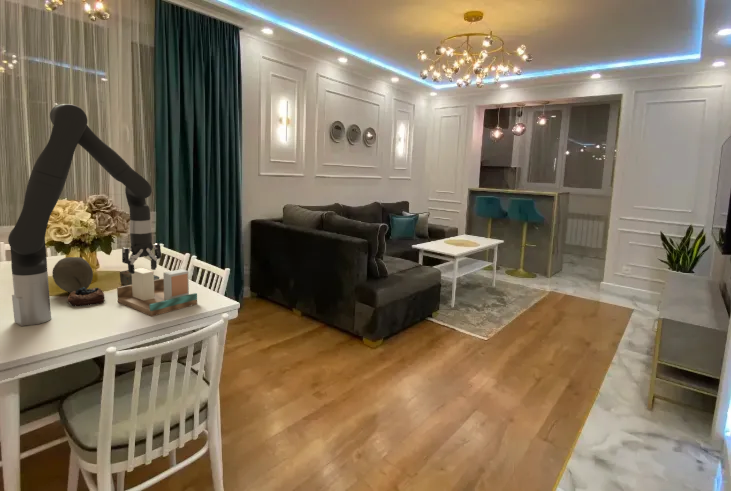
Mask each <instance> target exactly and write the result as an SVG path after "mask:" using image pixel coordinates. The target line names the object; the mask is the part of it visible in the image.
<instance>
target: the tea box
mask: <svg viewBox="0 0 731 491" xmlns="http://www.w3.org/2000/svg"><path fill="white" fill-rule="evenodd" d="M134 272H135V273H134V274H132V294H133V297H136V298H138V299H141V300H143V301H144V300H149V299H153V298H154V275H155V274H154V270H150V269H146V268H143V267H139V268H134Z"/></svg>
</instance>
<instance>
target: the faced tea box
mask: <svg viewBox="0 0 731 491" xmlns="http://www.w3.org/2000/svg"><path fill="white" fill-rule="evenodd" d="M189 278H190V276H189V270H186V269H183V268H181V269H176V270H171V271H165V272H163V279H164V299H165V300H169V299H173V298H177V297H181V296H185V295H189V294H190V293H189V291H190V290H189V289H190V288H189V287H190V285H189Z"/></svg>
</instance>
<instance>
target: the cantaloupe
mask: <svg viewBox="0 0 731 491" xmlns="http://www.w3.org/2000/svg"><path fill="white" fill-rule="evenodd" d="M52 278H53V281H54V283H55V285H57V287H58V288H60V289H61V290H63V291H65V292H68V293H71V292H73V291H76V290H78V289H80V288H81V289H82V288H83V287H85V288H86V289H89V287H90V286H91V283H92V281H93V278H94V271H93V268H92V267H91V265H90V263H89V262H88V261H87V260H86V259H85V258H83V257H79V256H73V257H72V256H67V257H63V258H61V259H59V260H58V261H57V262H56V263H55V265H54V267H53V268H52Z"/></svg>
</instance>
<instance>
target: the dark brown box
mask: <svg viewBox="0 0 731 491" xmlns="http://www.w3.org/2000/svg"><path fill="white" fill-rule="evenodd" d="M119 279H120V284H121V285H123V286H127V285H132V274H131V273H130V272H129V271H128V269H127V270H122V271H119ZM157 279H160V276H158V275H155V274H154V280H157Z"/></svg>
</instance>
